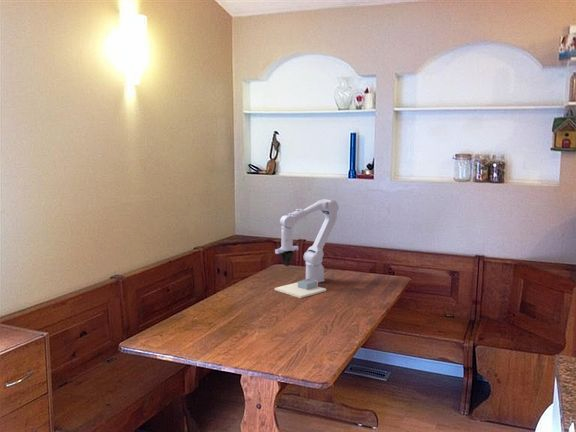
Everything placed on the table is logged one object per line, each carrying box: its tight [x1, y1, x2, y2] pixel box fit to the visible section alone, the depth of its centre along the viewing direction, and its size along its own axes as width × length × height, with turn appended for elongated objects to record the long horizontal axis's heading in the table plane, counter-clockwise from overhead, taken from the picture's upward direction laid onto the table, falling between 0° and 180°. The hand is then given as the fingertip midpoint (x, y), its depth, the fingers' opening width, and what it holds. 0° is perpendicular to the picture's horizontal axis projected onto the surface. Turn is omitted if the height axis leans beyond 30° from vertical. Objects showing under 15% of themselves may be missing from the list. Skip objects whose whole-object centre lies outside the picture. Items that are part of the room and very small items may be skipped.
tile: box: [274, 281, 327, 299], centre depth 259 cm, size 18×18×1 cm
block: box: [297, 278, 319, 290], centre depth 261 cm, size 3×6×8 cm
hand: (286, 265), depth 267 cm, fingers closed
